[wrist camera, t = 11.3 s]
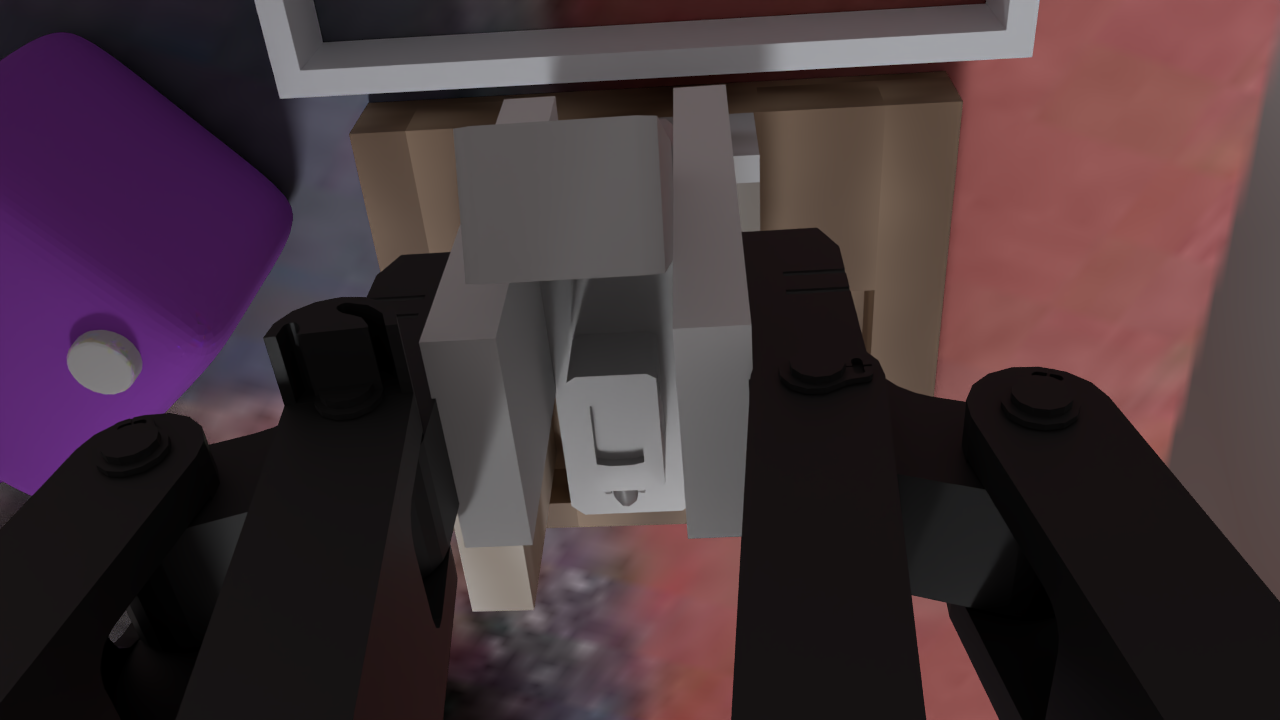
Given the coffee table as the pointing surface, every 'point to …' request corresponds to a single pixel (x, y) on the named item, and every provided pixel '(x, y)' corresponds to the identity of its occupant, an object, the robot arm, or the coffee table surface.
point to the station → (768, 200)
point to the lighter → (589, 287)
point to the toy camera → (113, 250)
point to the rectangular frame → (636, 48)
